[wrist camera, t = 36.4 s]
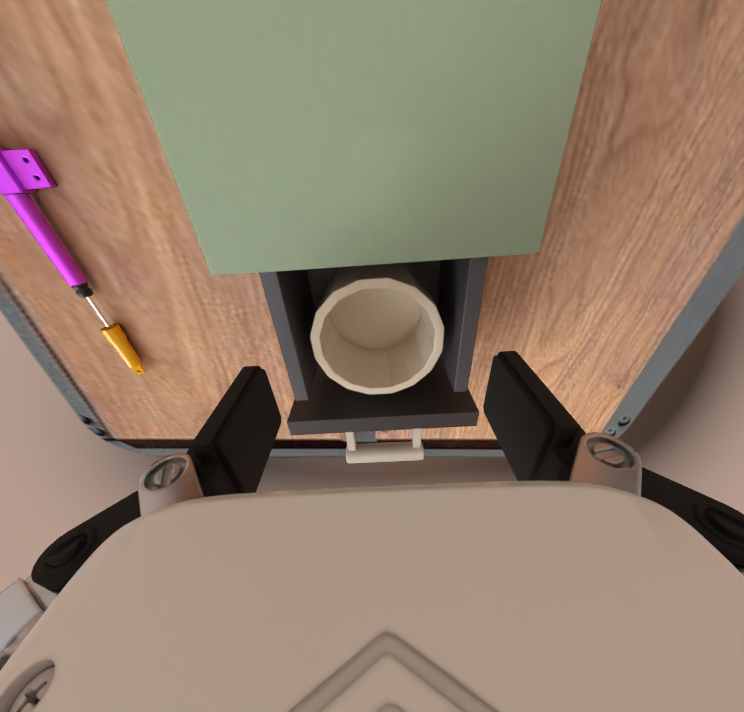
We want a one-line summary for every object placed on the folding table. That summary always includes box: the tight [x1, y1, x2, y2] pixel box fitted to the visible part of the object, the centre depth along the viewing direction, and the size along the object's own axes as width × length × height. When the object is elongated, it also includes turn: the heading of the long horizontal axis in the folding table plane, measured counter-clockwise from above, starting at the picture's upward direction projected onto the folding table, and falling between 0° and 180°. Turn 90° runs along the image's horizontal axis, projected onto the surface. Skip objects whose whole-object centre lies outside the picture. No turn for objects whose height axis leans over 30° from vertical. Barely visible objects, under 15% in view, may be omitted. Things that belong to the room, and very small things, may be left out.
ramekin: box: [310, 263, 444, 394], centre depth 17 cm, size 7×7×5 cm
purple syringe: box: [0, 148, 146, 375], centre depth 19 cm, size 3×1×16 cm
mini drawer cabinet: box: [106, 0, 602, 276], centre depth 10 cm, size 15×13×9 cm
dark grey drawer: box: [259, 257, 488, 463], centre depth 18 cm, size 19×12×7 cm, turn 4°
